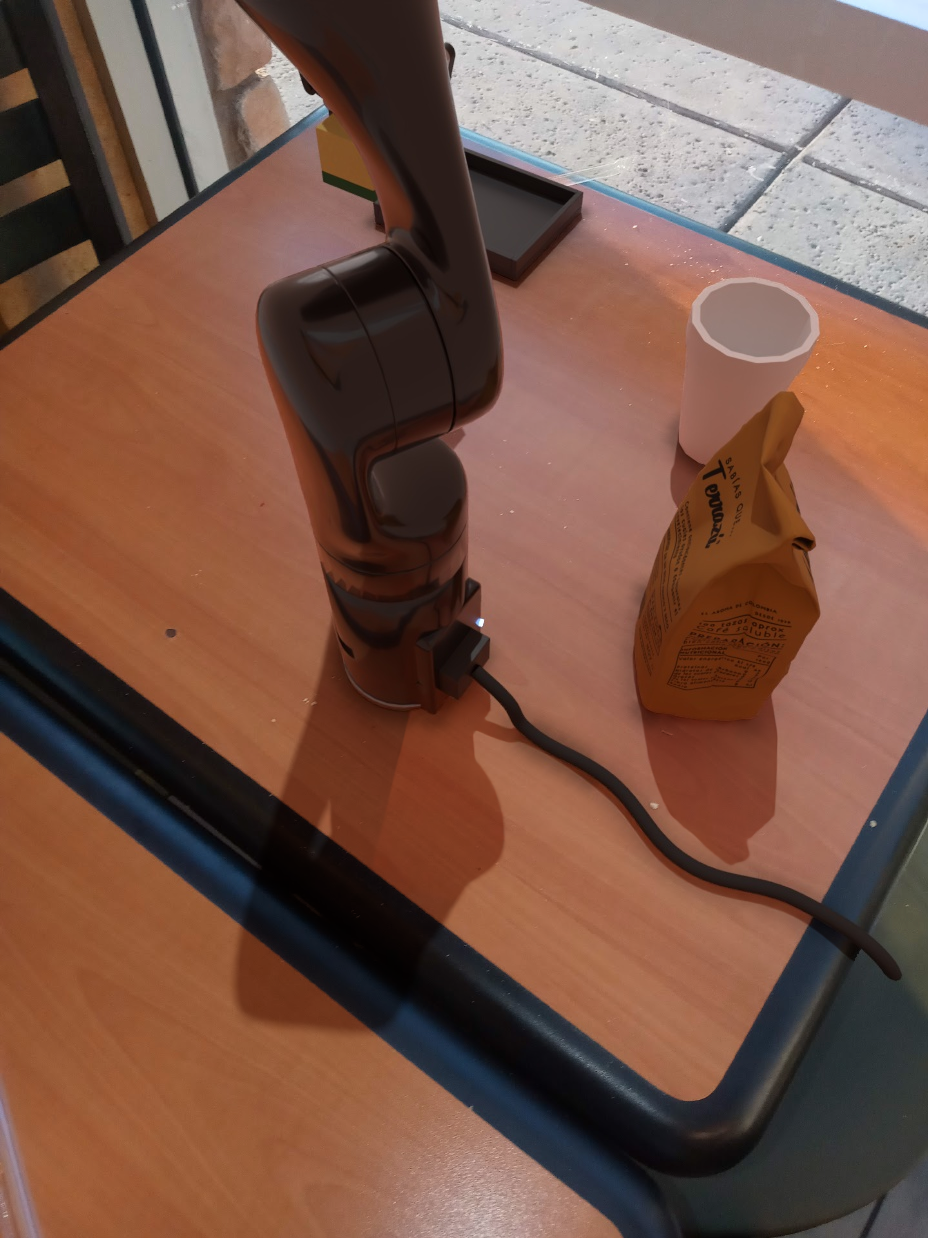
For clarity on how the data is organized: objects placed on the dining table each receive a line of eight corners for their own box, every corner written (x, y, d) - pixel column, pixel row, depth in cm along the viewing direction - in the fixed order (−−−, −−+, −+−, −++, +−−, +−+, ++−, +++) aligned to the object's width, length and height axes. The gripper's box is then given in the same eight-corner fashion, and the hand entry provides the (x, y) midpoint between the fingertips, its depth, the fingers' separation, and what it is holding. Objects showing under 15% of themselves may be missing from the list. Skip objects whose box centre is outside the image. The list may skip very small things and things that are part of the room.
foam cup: (643, 413, 80) (671, 290, 69) (738, 390, 82) (781, 266, 70) (689, 492, 75) (726, 375, 64) (789, 467, 77) (843, 347, 66)
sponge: (379, 132, 76) (375, 77, 72) (430, 151, 74) (428, 96, 71) (322, 182, 72) (315, 126, 68) (374, 202, 71) (369, 147, 67)
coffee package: (767, 594, 70) (876, 381, 51) (764, 739, 64) (887, 557, 45) (638, 574, 71) (699, 358, 52) (622, 715, 65) (685, 527, 46)
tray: (581, 211, 95) (583, 191, 93) (515, 281, 90) (516, 261, 88) (445, 159, 100) (445, 139, 98) (374, 222, 95) (372, 202, 93)
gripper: (232, -92, 59) (278, 157, 73) (417, -34, 55) (426, 217, 70) (302, -134, 62) (332, 112, 77) (481, -83, 58) (477, 166, 73)
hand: (377, 161), depth 73 cm, fingers closed on sponge, 5 cm apart
